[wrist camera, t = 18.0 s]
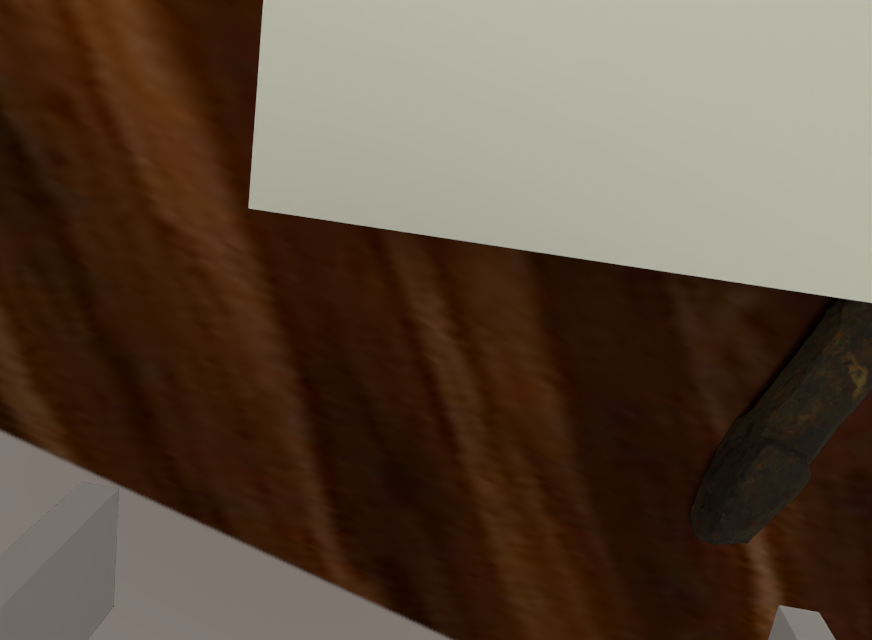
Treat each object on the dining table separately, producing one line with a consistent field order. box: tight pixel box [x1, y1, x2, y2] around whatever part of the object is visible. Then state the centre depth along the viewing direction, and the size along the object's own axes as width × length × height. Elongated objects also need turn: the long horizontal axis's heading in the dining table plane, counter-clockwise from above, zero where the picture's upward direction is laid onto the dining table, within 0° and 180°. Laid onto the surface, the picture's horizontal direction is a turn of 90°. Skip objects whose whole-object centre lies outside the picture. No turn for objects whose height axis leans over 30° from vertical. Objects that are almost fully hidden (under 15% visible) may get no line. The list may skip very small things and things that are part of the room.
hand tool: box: [690, 298, 872, 545], centre depth 35 cm, size 19×4×5 cm, turn 146°
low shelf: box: [248, 0, 872, 303], centre depth 29 cm, size 24×12×12 cm, turn 82°
